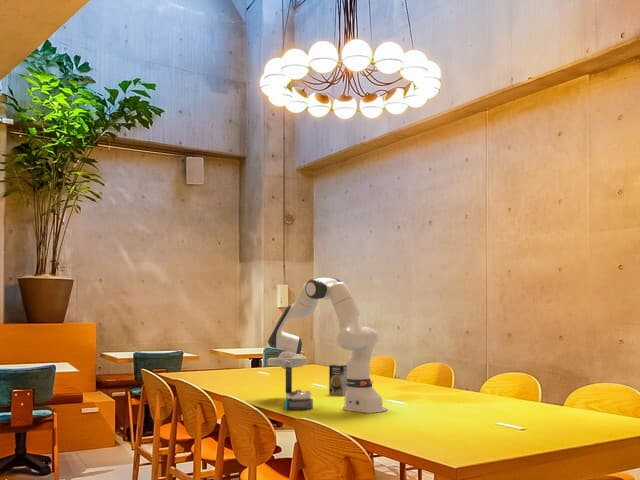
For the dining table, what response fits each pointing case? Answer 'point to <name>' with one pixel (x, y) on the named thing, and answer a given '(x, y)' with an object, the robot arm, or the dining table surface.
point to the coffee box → (337, 379)
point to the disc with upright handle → (297, 394)
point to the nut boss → (298, 405)
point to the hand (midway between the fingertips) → (287, 362)
